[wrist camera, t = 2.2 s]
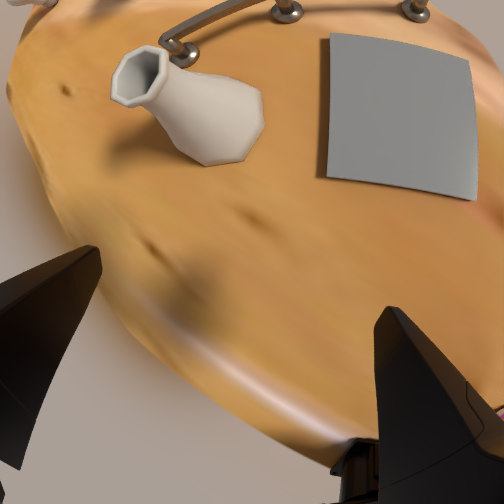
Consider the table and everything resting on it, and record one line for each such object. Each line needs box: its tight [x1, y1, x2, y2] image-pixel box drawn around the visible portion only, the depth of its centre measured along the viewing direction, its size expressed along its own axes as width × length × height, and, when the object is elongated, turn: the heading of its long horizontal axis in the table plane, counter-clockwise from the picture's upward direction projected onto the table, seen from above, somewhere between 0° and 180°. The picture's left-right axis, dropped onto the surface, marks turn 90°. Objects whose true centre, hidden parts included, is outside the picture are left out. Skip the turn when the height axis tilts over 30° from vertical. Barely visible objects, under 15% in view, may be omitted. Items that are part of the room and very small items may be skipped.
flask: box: [110, 45, 265, 167], centre depth 15 cm, size 7×7×10 cm
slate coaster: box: [327, 33, 478, 201], centre depth 15 cm, size 11×11×1 cm
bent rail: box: [158, 0, 430, 68], centre depth 14 cm, size 4×22×4 cm, turn 102°
